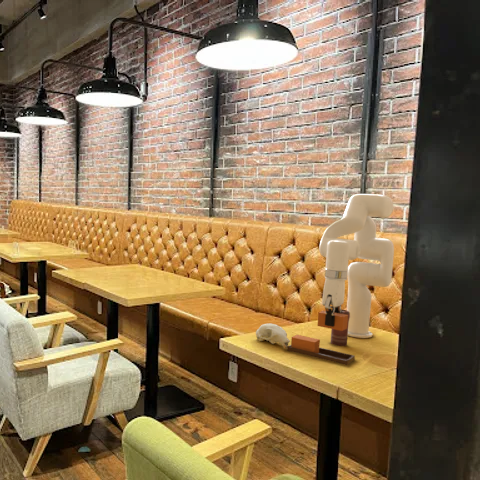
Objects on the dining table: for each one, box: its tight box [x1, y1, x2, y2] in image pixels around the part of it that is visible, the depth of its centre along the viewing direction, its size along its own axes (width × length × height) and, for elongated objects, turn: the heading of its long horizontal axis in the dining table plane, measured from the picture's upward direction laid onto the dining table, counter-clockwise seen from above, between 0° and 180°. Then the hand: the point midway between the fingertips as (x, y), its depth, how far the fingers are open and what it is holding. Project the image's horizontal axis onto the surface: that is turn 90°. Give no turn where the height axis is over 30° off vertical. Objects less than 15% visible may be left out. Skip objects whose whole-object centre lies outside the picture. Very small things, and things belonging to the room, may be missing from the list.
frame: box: [286, 344, 356, 366], centre depth 179 cm, size 8×22×2 cm, turn 51°
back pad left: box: [290, 334, 321, 353], centre depth 182 cm, size 5×9×5 cm, turn 51°
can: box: [330, 308, 350, 347], centre depth 193 cm, size 6×6×14 cm
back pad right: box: [317, 310, 348, 331], centre depth 175 cm, size 5×9×5 cm, turn 51°
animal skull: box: [255, 322, 291, 350], centre depth 190 cm, size 10×16×10 cm, turn 16°
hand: (332, 323), depth 175 cm, fingers closed on back pad right, 5 cm apart
